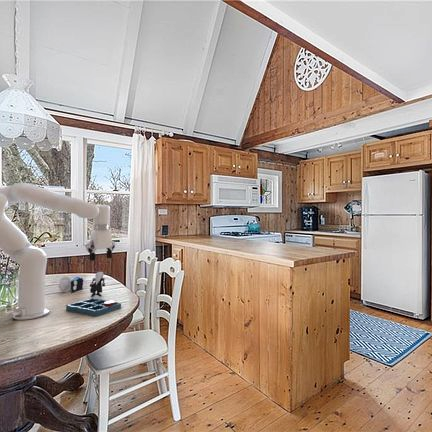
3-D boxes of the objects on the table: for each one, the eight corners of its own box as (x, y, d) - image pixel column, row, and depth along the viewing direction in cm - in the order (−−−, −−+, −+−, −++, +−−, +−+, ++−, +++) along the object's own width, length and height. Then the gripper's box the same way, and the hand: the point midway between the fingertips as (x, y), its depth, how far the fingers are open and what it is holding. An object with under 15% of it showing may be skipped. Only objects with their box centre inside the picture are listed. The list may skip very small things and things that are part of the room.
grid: (95, 316, 142) (95, 310, 142) (66, 310, 149) (66, 305, 149) (121, 308, 155) (121, 303, 155) (92, 303, 162) (93, 298, 162)
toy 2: (106, 308, 184) (110, 286, 194) (102, 291, 171) (107, 268, 180) (92, 309, 181) (97, 287, 191) (86, 292, 168) (92, 269, 178)
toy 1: (87, 291, 191) (67, 294, 177) (73, 288, 193) (51, 291, 178) (90, 277, 192) (70, 278, 178) (76, 274, 194) (55, 276, 179)
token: (108, 309, 150) (108, 303, 149) (101, 308, 151) (102, 302, 151) (116, 307, 154) (116, 301, 154) (110, 306, 155) (110, 300, 155)
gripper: (111, 226, 173) (110, 256, 174) (81, 227, 157) (80, 260, 157) (120, 227, 171) (119, 257, 171) (91, 228, 155) (90, 261, 155)
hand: (100, 259), depth 164 cm, fingers open, 9 cm apart
